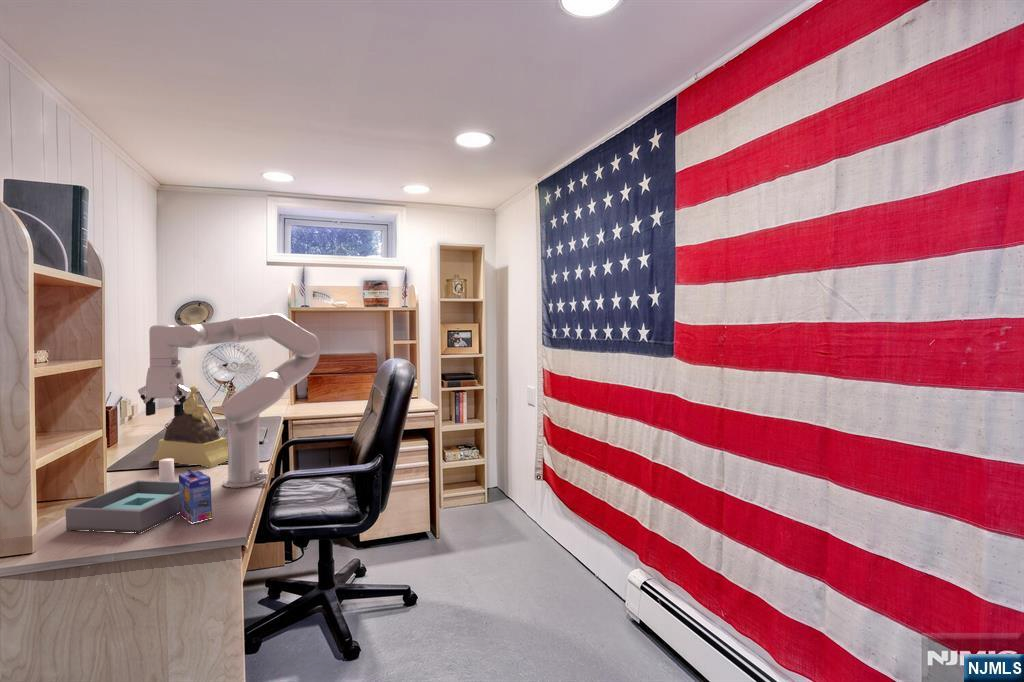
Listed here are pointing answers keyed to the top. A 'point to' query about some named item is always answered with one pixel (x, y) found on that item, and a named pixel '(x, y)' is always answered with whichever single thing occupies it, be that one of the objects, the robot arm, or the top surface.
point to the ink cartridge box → (195, 496)
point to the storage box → (127, 508)
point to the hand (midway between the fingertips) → (164, 415)
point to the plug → (166, 469)
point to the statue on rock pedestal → (192, 437)
